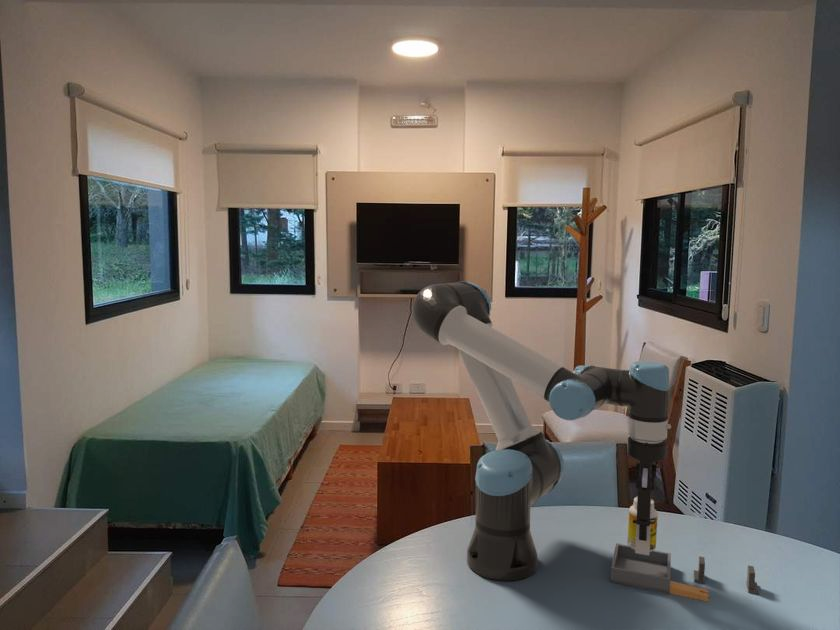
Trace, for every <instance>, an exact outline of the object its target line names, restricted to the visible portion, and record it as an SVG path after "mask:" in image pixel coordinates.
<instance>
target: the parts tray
mask: <svg viewBox="0 0 840 630" xmlns="http://www.w3.org/2000/svg"><path fill="white" fill-rule="evenodd" d="M671 560H672V553H671V552H665V551H660V550H655V549H654V550H653V551H651V552H650V553H649V555H643V554H638V553H635V550H634V549H632V548H631V547H630V546H629V545H627V544H622V543H615V547H614V551H613V556H612V561H611V567H610V577H609V578H610V580H609V581H610V583H615V584H620V585H623V586H629V587H632V588H633V587H634V588H639V589H643V590H648V591H652V592H653V591H654V592H659V593H663V594H666V595H667V594H668V595H670V594H671V593H670V581H671V570H672V569H671V567H672V566H671V565H672V563H671V562H672V561H671Z"/></svg>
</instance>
